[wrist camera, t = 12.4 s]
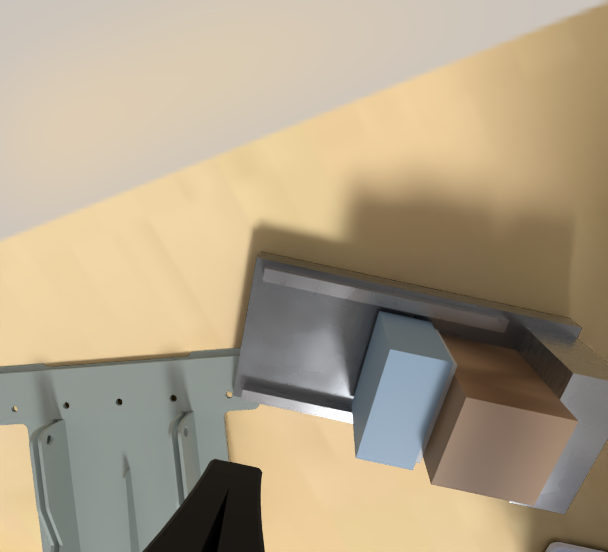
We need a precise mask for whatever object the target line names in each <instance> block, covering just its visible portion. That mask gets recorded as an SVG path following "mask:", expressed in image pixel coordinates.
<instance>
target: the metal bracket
mask: <svg viewBox="0 0 608 552" xmlns="http://www.w3.org/2000/svg"><path fill="white" fill-rule="evenodd" d="M240 351H241V348H231V349H219V350H206V351H194V352H191V354H190V355H189V356H186V357H173V358H160V359H147V360H134V361H121V362H108V363H95V364H82V365H69V366H56V367H48V366H46V365H44V364H30V365H18V366H5V367H0V425H10V424H24V425H26V426H27V428H28V433H29V447H30V456H31V464H32V472H33V480H34V488H35V496H36V504H37V511H38V515H39V523H40V531H41V539H42V548H43V552H142V551H143V550H144V549H145V548H146V547H147V546H148V545H149V543H150V542H151V541H152V540H153V539H154V538H155V536H156V535H157V534H158V533H159V532H160V531H161V530H162V528H163V527H164V526H165V525H166V523H167V522H168V521H169V520H170V518H171V517H172V516H173V514H174V513H175V512H176V511H177V509H178V508H179V507H180V505H181V504H182V503H183V502H184V500H185V499H186V498H187V496H188V495H189V493H190V492H191V491H192V489H193V488H194V486H195V485H196V483H197V482H198V480H199V479H200V477H201V476H202V474H203V473H204V471H205V469H206V468H207V466H208V464H209V462H210V461H211V460H213V459H219V460H223V461H228V462H229V454H228V445H227V435H226V426H225V413H226V412H228V411H234V410H250V409H256V408H257V407H258V406H259V403H254V402H249V401H245V400H241V397H236V396H232V397H228V396H227V394H226V393H227V391H231V392H232V394H233V391H234V385H235V379H236V374H237V368H238V362H239V356H240ZM172 395H175V396H176V398H177V400H176V401H173V400H172V399H171V396H172ZM118 399H121V400H122V404H119V403H118V402H117V400H118ZM65 402H67V403H69V408H67V407H66V406H65ZM14 406H17V408H18V411H15V409H14Z"/></svg>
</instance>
